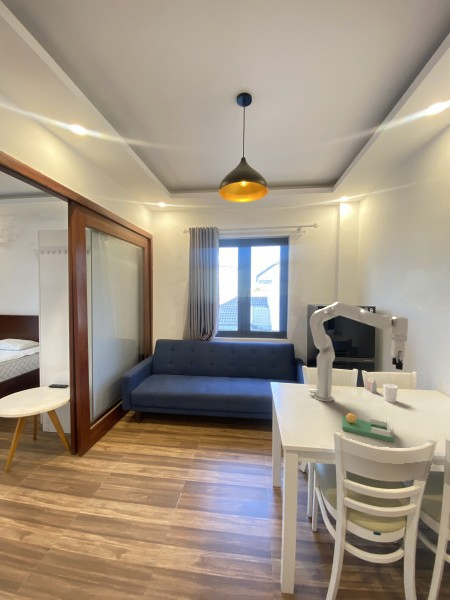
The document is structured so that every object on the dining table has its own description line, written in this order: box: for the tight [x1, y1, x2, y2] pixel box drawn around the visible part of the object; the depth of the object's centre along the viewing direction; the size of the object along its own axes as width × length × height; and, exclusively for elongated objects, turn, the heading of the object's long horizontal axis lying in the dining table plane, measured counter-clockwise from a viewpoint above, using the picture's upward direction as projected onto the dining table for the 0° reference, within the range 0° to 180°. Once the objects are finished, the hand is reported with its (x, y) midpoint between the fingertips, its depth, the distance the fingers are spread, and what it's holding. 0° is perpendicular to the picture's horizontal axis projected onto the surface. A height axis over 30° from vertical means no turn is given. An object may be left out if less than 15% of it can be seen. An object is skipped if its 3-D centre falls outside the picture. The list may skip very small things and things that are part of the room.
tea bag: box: [364, 375, 378, 394], centre depth 180 cm, size 4×7×10 cm, turn 7°
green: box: [342, 415, 395, 443], centre depth 128 cm, size 22×12×6 cm, turn 64°
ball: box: [345, 412, 358, 423], centre depth 131 cm, size 5×5×5 cm
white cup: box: [382, 383, 399, 404], centre depth 165 cm, size 8×8×10 cm
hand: (397, 367), depth 144 cm, fingers open, 9 cm apart
